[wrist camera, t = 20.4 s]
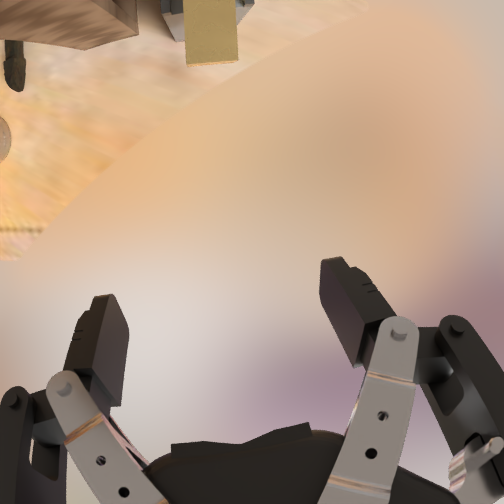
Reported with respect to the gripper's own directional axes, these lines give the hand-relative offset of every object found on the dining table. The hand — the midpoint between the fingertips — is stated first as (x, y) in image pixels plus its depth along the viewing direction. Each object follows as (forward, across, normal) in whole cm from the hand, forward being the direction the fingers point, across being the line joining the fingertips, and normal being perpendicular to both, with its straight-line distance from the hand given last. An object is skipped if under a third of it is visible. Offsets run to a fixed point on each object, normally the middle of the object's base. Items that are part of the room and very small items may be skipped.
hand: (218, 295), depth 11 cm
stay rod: (+20, -2, -19) cm, 28 cm away
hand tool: (+41, +28, -24) cm, 55 cm away
